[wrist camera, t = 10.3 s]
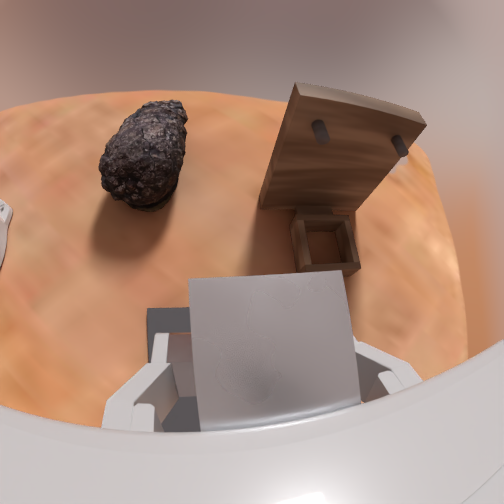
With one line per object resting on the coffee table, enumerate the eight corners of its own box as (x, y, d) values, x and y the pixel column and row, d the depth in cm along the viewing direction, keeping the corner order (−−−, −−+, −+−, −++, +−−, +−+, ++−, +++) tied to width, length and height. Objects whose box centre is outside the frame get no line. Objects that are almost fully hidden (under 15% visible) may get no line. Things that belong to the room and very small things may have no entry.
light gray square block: (274, 388, 15) (362, 415, 6) (205, 394, 14) (202, 444, 5) (267, 323, 16) (341, 270, 7) (200, 328, 16) (188, 278, 7)
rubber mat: (157, 433, 23) (156, 435, 23) (148, 309, 29) (147, 308, 28) (286, 424, 26) (288, 426, 25) (274, 304, 31) (275, 302, 30)
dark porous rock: (192, 123, 40) (193, 72, 31) (182, 220, 33) (176, 168, 24) (130, 125, 38) (120, 76, 29) (104, 220, 32) (77, 173, 23)
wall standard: (371, 274, 34) (468, 206, 18) (269, 281, 32) (332, 192, 16) (352, 199, 39) (418, 112, 22) (259, 196, 36) (295, 81, 20)
